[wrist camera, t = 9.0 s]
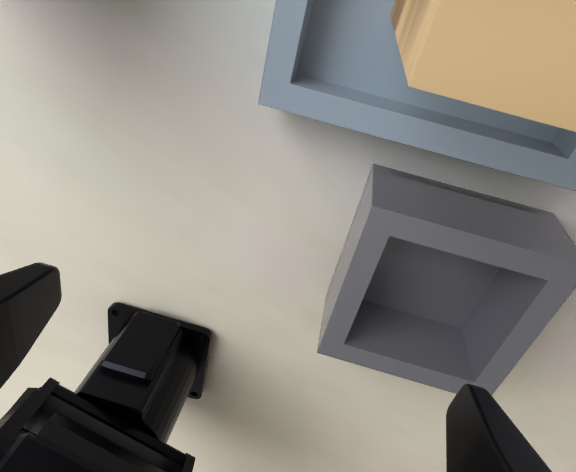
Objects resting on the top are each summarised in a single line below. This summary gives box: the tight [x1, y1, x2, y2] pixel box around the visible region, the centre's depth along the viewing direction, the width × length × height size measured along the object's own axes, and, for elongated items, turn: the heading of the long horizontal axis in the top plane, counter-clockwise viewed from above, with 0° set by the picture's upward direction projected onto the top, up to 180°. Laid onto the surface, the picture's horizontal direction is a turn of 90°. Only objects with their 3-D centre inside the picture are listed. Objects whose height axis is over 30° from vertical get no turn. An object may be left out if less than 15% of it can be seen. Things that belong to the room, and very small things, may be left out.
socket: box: [317, 164, 576, 395], centre depth 19 cm, size 8×8×4 cm
